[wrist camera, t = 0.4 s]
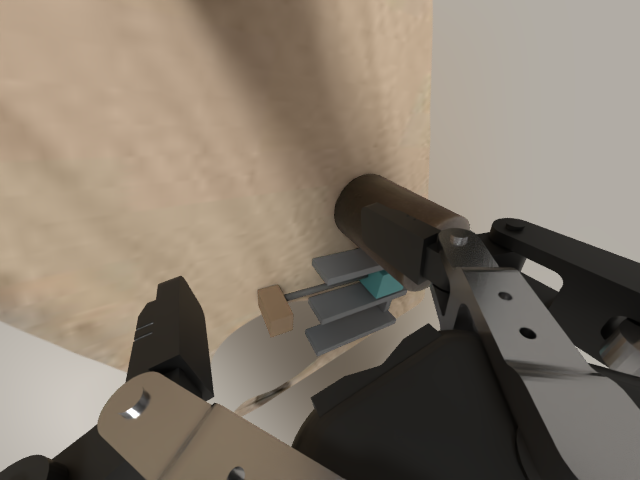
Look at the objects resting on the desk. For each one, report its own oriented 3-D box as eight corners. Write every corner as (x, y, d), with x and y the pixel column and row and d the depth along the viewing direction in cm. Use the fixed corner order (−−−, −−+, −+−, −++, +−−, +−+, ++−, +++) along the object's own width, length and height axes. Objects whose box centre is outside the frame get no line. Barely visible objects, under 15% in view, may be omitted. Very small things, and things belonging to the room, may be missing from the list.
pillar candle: (323, 200, 32) (405, 268, 21) (380, 159, 32) (487, 202, 21) (346, 245, 38) (417, 313, 27) (393, 209, 39) (480, 262, 28)
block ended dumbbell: (257, 284, 33) (270, 316, 29) (390, 251, 44) (414, 271, 39) (258, 309, 36) (270, 342, 31) (383, 273, 46) (406, 293, 42)
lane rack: (312, 258, 36) (328, 279, 32) (400, 239, 44) (421, 253, 40) (305, 333, 45) (317, 356, 41) (379, 306, 53) (394, 323, 49)
